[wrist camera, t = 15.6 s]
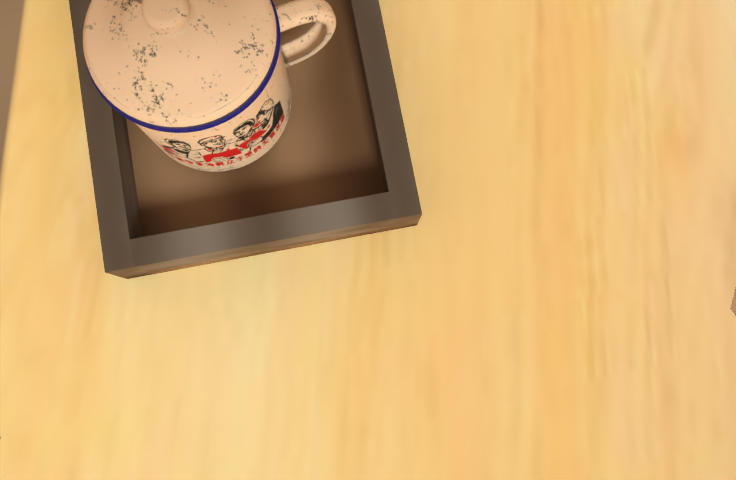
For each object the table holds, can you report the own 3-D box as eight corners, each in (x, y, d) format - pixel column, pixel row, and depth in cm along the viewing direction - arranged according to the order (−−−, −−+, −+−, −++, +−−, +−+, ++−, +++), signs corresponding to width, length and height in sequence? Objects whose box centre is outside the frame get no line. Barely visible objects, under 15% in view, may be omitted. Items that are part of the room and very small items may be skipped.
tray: (357, -70, 43) (356, -106, 40) (416, 225, 41) (421, 213, 37) (85, -24, 43) (61, -56, 39) (127, 278, 40) (105, 272, 36)
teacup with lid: (170, 201, 40) (93, 140, 28) (119, 60, 41) (25, -53, 29) (366, 126, 40) (368, 37, 29) (309, -10, 42) (290, -147, 30)
